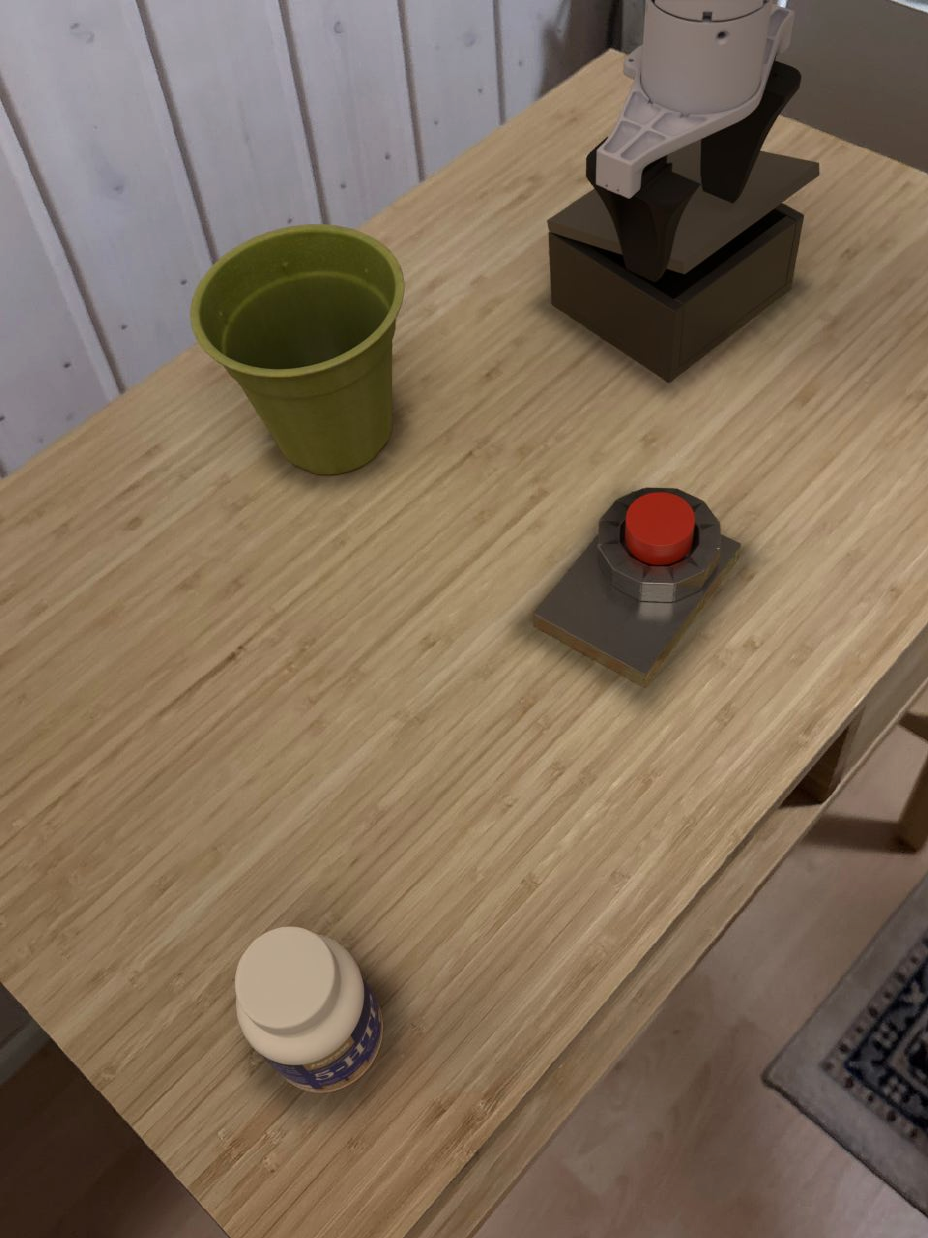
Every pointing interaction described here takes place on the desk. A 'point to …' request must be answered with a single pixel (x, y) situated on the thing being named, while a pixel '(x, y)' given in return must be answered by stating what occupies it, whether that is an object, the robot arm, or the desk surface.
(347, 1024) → the pill bottle
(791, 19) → the robot arm
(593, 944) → the desk surface
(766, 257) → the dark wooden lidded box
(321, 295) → the plant pot
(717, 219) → the lid
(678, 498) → the button
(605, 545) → the button block
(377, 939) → the desk surface
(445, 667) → the desk surface
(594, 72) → the desk surface
